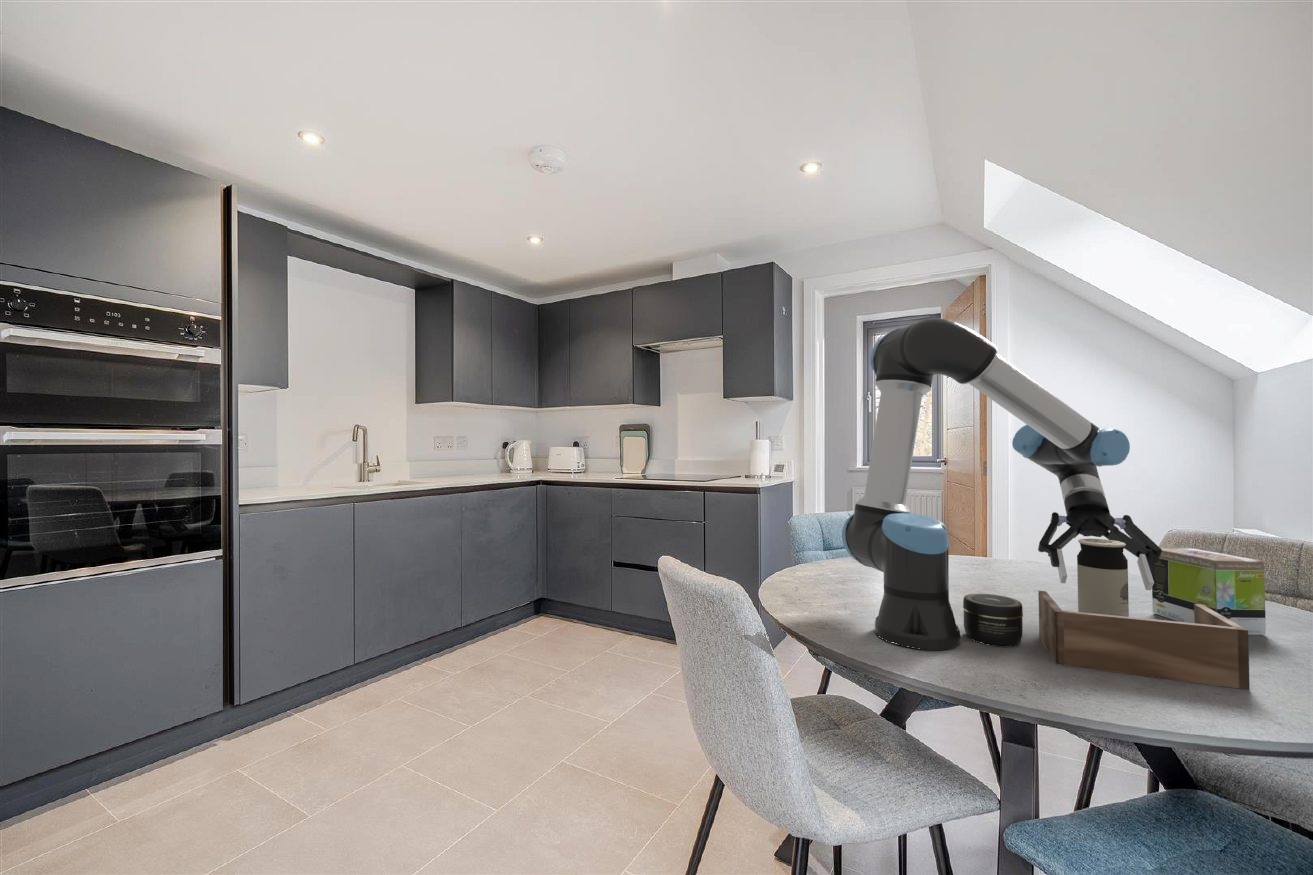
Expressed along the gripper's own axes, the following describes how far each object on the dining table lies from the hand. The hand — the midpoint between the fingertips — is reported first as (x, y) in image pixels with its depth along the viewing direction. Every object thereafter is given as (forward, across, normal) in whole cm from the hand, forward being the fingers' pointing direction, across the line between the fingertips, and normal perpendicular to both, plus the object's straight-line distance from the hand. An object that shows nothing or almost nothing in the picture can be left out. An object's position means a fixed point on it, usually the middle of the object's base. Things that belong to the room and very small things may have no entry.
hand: (1105, 583), depth 111 cm
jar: (+16, +20, +1) cm, 26 cm away
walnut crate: (+17, 0, +2) cm, 17 cm away
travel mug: (+6, 0, -9) cm, 11 cm away
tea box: (-4, -20, -19) cm, 28 cm away
